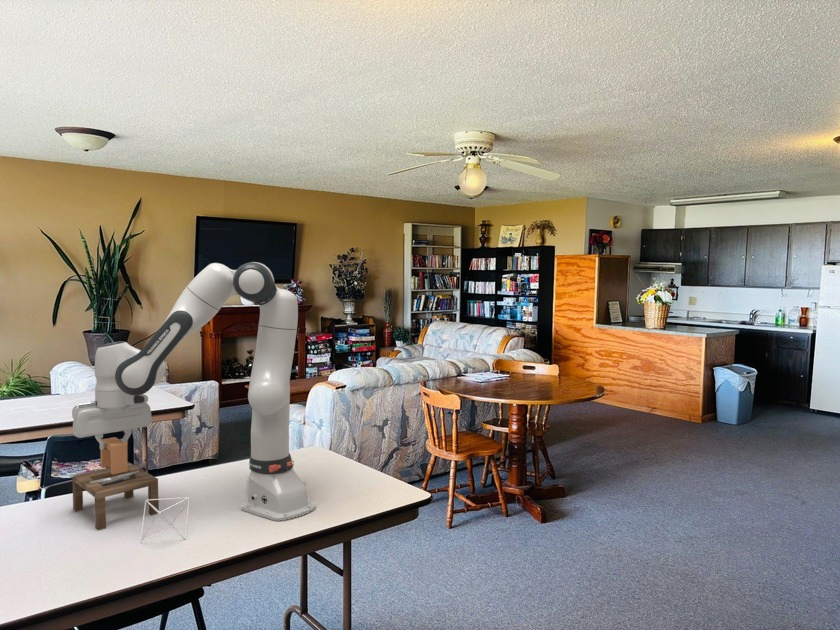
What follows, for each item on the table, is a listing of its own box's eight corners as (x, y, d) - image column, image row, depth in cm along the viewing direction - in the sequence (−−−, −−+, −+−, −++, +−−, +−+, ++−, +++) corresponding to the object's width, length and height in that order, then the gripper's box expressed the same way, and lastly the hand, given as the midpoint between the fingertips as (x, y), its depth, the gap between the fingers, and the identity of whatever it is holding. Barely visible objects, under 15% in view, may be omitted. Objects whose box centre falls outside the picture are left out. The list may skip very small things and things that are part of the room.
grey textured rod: (139, 476, 174) (139, 471, 174) (91, 488, 165) (91, 482, 165) (137, 475, 176) (137, 470, 175) (89, 486, 166) (89, 481, 166)
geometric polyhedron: (199, 531, 158) (199, 498, 158) (170, 549, 148) (169, 513, 147) (161, 525, 162) (161, 492, 162) (130, 541, 152) (129, 506, 151)
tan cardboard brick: (127, 471, 168) (127, 443, 168) (112, 474, 165) (112, 446, 165) (115, 464, 174) (115, 437, 174) (100, 467, 172) (100, 439, 171)
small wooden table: (158, 513, 170) (158, 478, 169) (98, 530, 158) (97, 493, 158) (131, 495, 183) (130, 463, 183) (73, 509, 172) (72, 475, 171)
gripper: (75, 406, 159) (77, 457, 160) (153, 395, 174) (154, 442, 175) (68, 402, 163) (69, 452, 164) (144, 392, 178) (145, 438, 179)
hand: (113, 447), depth 170 cm, fingers closed on tan cardboard brick, 4 cm apart
